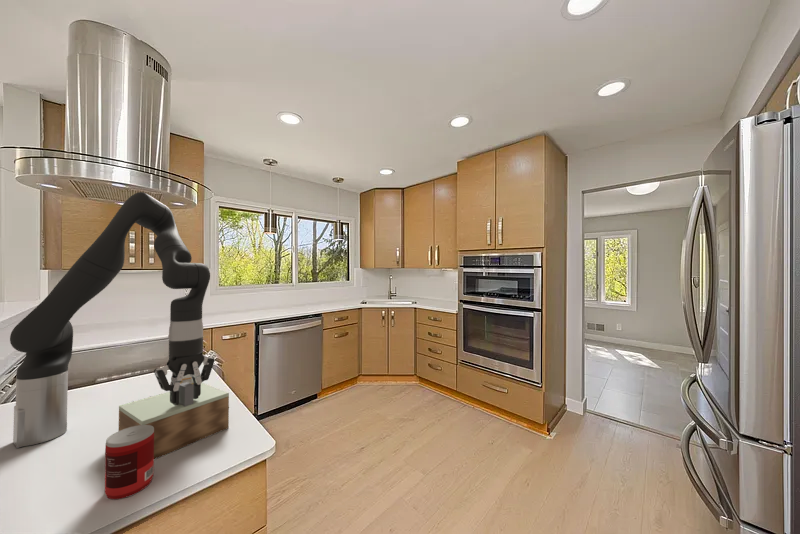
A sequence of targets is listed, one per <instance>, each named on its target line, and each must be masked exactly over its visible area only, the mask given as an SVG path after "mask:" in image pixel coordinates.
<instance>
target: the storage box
mask: <svg viewBox="0 0 800 534" xmlns="http://www.w3.org/2000/svg"><path fill="white" fill-rule="evenodd" d="M229 407H230V395H229V396H228V397H225V398H222V399H219V400H216V401H213V402H210V403H207V404H204V405H201V406H199V407H196V408H193V409H190V410H187V411H184V412H181V413H178V414H175V415H172V416H169V417H166V418H163V419H160V420H157V421H154V422H151V423H148V424H146V425H151V426H153V427H154V461H155V460H157V459H159V458H161V457H164V456H166V455H168V454H171V453H173V452H176V451H178V450H181V449H182V448H185V447H187V446H189V445H193V444H194V443H196V442H199V441H202V440H204V439H206V438H208V437H211V436H213V435H215V434H218V433H220V432H222V431H224V430H227V429H229V427H230V426H229V425H230V424H229V422H230V421H229V418H230V417H229V416H230V415H229V413H230V411H229V410H230V409H229ZM138 425H140V424H139V423H137V422H136V421H135V420H133V419H132V418H130V417H129V416H127V415H126V414H124V413H123V412H122V411H120V410H119V409H118V431H120V430H123V429H126V428H129V427H133V426H138Z"/></svg>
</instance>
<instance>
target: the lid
mask: <svg viewBox="0 0 800 534" xmlns="http://www.w3.org/2000/svg"><path fill="white" fill-rule="evenodd" d="M178 390H179V405H173V404H172V403H171V402H170V391H165V392H163V393H160V394H156V395H153V396H149V397H145V398H143V399H138V400H135V401H131V402H128V403H125V404H124V403H123V404H121V405H118V411H119V410H120V411H122V412H123V413H124V414H126V415H127V416H129V417H130V418H132V419H133V420H135V421H136V422H137V423H139V424H140V425H146V424H148V423H151V422H154V421H157V420H160V419H163V418H166V417H169V416H172V415H175V414H178V413H181V412H184V411H187V410H190V409H193V408H196V407H199V406H201V405H204V404H207V403H210V402H213V401H216V400H219V399H222V398H225V397H228V396H229V397H230V395H229V394H230V393H229V392H228V391H225V390H223V389H220V388H217V387H215V386H213V385H210V384H207V383H204V382H202V383H201V394H200V396H199V397H198V399H194V385H193V384H190V383H188V382H185V383H181V384H180V385H179V389H178Z"/></svg>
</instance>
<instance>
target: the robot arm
mask: <svg viewBox="0 0 800 534" xmlns="http://www.w3.org/2000/svg"><path fill="white" fill-rule="evenodd" d="M135 224H137V225H139V226H140V227H143V228H145V229H146V230H147V229H148V230H150V231H151V232H153V233H154V234H155V235H156V237H155V239H154V242H153V246H154V250H155V253H156V255H157V257H158V258H159V261H160V262H161V270H162V272H161V273H162V274H161V275H162V276H161V278H162V279H161V280H162V283H163V284H164V285H165V286H166V287H167V288H169V289H172V290H185V289H186V290H187V289H190V290H189V292H188V294H187V295H185V296H181V297H177V298H174V299H172V301H170V306H169V307H170V311H169V312H170V314H169V315H170V316H169V317H170V319H169V320H170V322H169V328H168V337H167V338H168V361H167V362H166V364H165V365H164V366H161V367H160V368H157V367H156V368H154V370H153V373H154V375H155V378H156V380H157V382H158V384H159V387H160V389H161V390H164V391H165V392H170V402H171V403H172V404H173V405H179V390H178V389H179V385H180V382H181V381H182V379H183V376H186V375H188V374H190V376H191V377H192V381H193V385H194V399H198V397H199V396H200V394H201V383H204V382H205V381H208V380H209V378H210V375H211V372H212V370H213V366H214V364H215V358H213V357H210V356H208V357H205V356H204V354H203V351H204V323H203V302H204V299H205V295H206V292H207V289H208V286H209V283H210V280H211V272H210V269H209V267H208V266H207V265H206V264H204V263H202V262H192V254H191V252H190V251H189V249H188V247H187V245H185V243H184V241H183V239H182V237H181V236H180V233H179V231H178V227H177V224H176V220H175V217H174V213H173V212H172V210H171V208H169V207H168V206H167V205H166V204H164V203H162V202H161V201H159V200H158V199H156V198H154V197H153V196H152V195H150V194H148V193H146V192H143V191H138V192H136V193H134V194H132V195H131V196H130V197H128V198H127V199H126V200H125V201H124V202H123V204H122V205H121V206H120V207H119V209H118V210H117V212H116V213H115V215H114V216H113V217H112V219H111V220H110V222H109V223H108V224H107V226H106V227H105V229H104V230H103V231H102V232H101V233H100V235H98V237H97V238H96V239H95V240H94V242H93V243H92V244H90V246H89V247H88V248H87V249H86V250H85V251H84V252H83V253H82V254H81V255H80V257H78V259H77V260H76V261H75V263H73V264H72V266H71V267H70V268H69V269H68V271H67V272H66V273H65V274H64V275H63V277H61V279H60V280H59V281H58V283H57V284H56V285H55V286H54V287H53V288H52V290H51V291H50V292H49V294H48V295H47V296H46V297H45V298H44V299H43V300H42V302H40V303H39V304H38V305H37V306H35V308H34V309H33V310H31V312H29V313H28V314H27V315H26V316H25V317H24V318H23V319H22V320H20V321H19V322H18V323H17V324H16V325H15V326H14V327H13V328H12V331H11V333H10V336H9V343H10V345H11V347H12V348H13V349H14V350H16V351H18V352H20V353H25V357H24V359H23V361H22V363H21V364H20V365H19V366H18V367H17V369H16V375H15V376H16V377H15V378H16V379H15V381H16V383H15V405H14V406H13V429H12V430H13V434H12V436H13V439H12V442H13V444H14V446H15V447H16V449H19V448H21V447H27V446H28V447H29V446H32V445H37V444H41V443H45V442H48V441H51V440H54V439H55V438H58V437H60V436H62V435H64V434H65V433H66V432H67V431H68V429H67V428H68V395H69V394H68V390H69V389H68V386H69V385H68V384H69V383H68V382H69V364H70V362H71V359H72V357H73V356H72V354H73V343H74V329H73V325H72V322H71V321H70V320H71V319H72V318H73V316H75V314H76V313H77V312H78V311H79V310H80V309H81V308H82V307H83V306H84V305H86V304H87V303H88V302H90V301H91V300H92V299H94V298H95V297H96V296H98V295H99V294H100V293H102V291H103V290H105V288H107V287H108V286H109V285H110V284H111V283H112V282H113V280H114V279H115V278H116V276H117V275H118V274H119V273H120V272H121V271H122V269H123V267H124V265H125V252H126V250H125V248H126V246H125V244H126V238H127V235H128V234H129V232H130V230H131V229H132V227H133V226H134V225H135ZM202 364H203V367H202V370H201V371H200V368H201V365H202ZM168 371H170V372H171V373H172V374H171V377H170V382H169V381H168V379H167V375H168Z"/></svg>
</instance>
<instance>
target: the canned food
mask: <svg viewBox="0 0 800 534" xmlns="http://www.w3.org/2000/svg"><path fill="white" fill-rule="evenodd" d="M104 454H105V455H104V457H105V458H104V463H105V464H104V493H105V496H106V497H107V498H108V499H110V500H119V499H121V500H122V499H125V498H129V497H131V496H133V495H135V494H137V493H139V492H141V491H143V490H144V489H145V488H147V487H148V486H149V485H150V484H151V483H152V480H153V479H154V473H155V472H154V470H155V469H154V465H155V464H154V463H155V462H154V461H155V460H154V427H153V426H151V425H138V426H133V427H129V428H126V429H123V430H120V431H119V430H118V431H117V432H114V433H112V434H111V435H109V436H108V437H107V438H106V441H105V450H104Z"/></svg>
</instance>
